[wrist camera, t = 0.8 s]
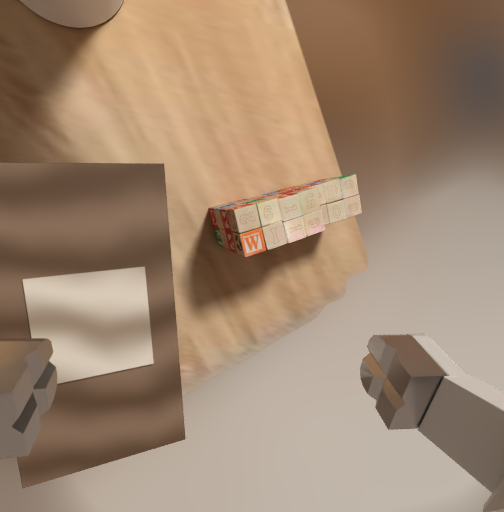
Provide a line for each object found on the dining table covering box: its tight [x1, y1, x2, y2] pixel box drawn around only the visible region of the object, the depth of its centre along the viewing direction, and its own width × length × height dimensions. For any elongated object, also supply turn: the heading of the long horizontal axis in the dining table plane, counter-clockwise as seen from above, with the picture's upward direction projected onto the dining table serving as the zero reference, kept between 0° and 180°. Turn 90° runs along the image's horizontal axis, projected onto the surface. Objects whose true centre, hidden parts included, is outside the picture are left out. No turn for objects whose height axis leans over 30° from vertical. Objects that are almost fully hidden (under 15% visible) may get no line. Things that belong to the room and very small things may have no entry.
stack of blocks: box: [209, 174, 362, 257], centre depth 50 cm, size 21×6×12 cm, turn 104°
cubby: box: [0, 163, 185, 488], centre depth 39 cm, size 29×15×18 cm, turn 2°
